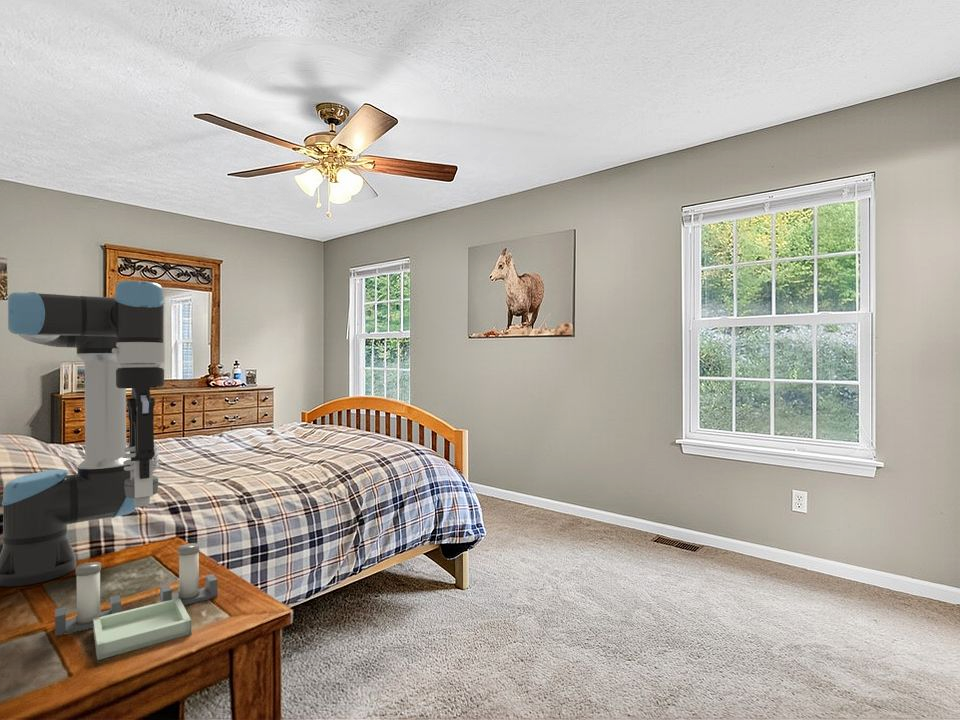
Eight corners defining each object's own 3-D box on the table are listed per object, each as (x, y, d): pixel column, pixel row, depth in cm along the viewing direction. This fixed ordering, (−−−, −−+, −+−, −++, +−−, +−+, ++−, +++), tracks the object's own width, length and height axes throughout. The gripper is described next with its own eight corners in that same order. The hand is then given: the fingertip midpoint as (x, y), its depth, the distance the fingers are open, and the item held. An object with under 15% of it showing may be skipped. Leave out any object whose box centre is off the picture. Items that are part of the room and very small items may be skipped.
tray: (93, 632, 100) (93, 618, 100) (179, 610, 109) (179, 597, 109) (97, 660, 91) (97, 645, 91) (191, 633, 99) (191, 620, 99)
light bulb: (142, 512, 97) (142, 445, 97) (115, 511, 98) (115, 444, 98) (166, 504, 103) (166, 440, 102) (141, 502, 104) (140, 439, 104)
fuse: (75, 618, 104) (75, 565, 104) (100, 612, 106) (100, 560, 106) (76, 626, 101) (75, 571, 101) (101, 620, 103) (101, 566, 103)
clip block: (55, 626, 102) (55, 608, 102) (212, 589, 119) (212, 573, 119) (55, 637, 98) (55, 617, 98) (218, 596, 115) (217, 580, 115)
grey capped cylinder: (176, 594, 114) (176, 545, 114) (197, 589, 117) (197, 542, 117) (180, 601, 111) (179, 550, 111) (201, 596, 113) (201, 546, 114)
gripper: (111, 367, 105) (112, 487, 105) (121, 366, 91) (122, 506, 91) (156, 366, 110) (157, 482, 110) (172, 365, 95) (173, 499, 95)
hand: (141, 493), depth 100 cm, fingers closed on light bulb, 6 cm apart
